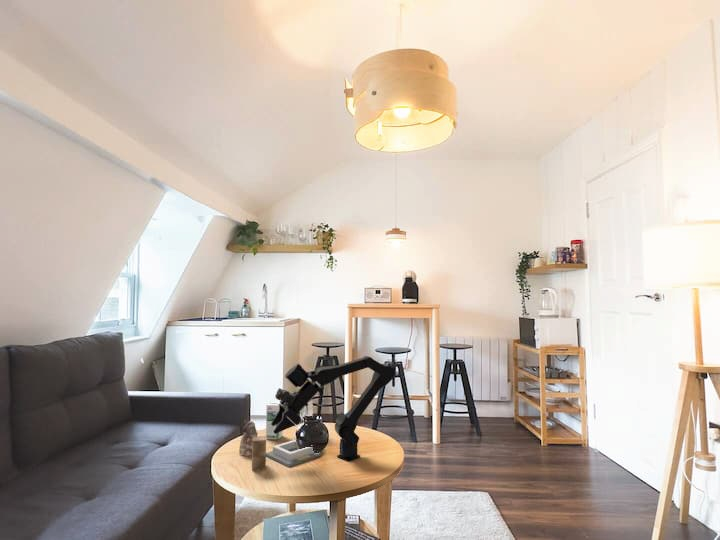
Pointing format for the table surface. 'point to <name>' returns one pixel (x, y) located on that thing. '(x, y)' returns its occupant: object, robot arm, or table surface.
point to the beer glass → (306, 411)
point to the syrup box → (270, 415)
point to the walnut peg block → (259, 453)
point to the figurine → (247, 438)
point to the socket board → (291, 454)
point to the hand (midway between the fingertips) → (273, 428)
